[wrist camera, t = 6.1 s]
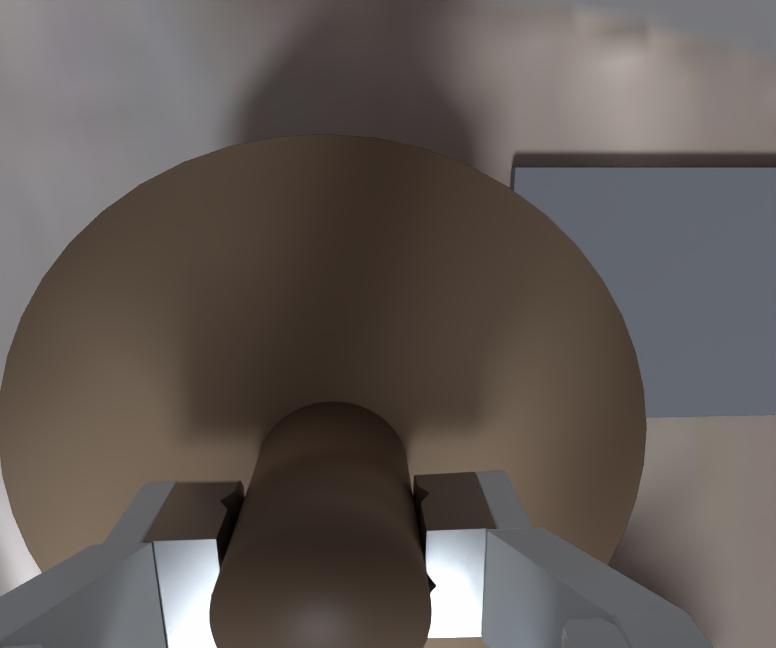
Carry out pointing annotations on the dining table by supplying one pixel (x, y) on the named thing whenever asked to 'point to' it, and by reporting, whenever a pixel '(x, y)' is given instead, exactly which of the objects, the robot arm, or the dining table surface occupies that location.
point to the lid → (321, 377)
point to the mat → (680, 274)
